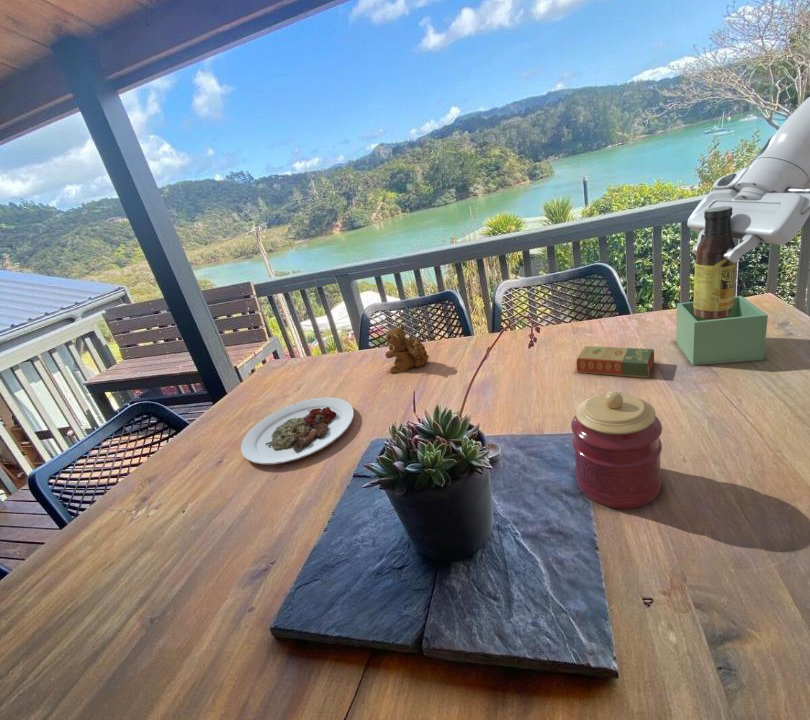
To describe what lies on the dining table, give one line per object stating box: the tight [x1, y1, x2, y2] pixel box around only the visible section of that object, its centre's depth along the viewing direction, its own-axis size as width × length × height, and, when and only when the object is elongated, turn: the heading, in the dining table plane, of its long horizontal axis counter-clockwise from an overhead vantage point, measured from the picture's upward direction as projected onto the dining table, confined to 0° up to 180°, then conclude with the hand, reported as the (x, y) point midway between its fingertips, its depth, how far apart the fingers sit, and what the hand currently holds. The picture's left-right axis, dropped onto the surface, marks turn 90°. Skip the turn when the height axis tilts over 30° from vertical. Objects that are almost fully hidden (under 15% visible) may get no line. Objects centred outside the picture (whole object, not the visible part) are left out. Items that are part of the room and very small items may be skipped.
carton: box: [576, 345, 655, 379], centre depth 107 cm, size 8×16×4 cm, turn 55°
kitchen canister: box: [570, 390, 663, 510], centre depth 70 cm, size 13×13×18 cm
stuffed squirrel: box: [384, 325, 430, 374], centre depth 135 cm, size 10×14×13 cm
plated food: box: [240, 396, 355, 465], centre depth 114 cm, size 30×30×3 cm
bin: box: [675, 295, 769, 366], centre depth 103 cm, size 14×14×11 cm
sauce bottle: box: [693, 206, 737, 320], centre depth 80 cm, size 7×6×20 cm
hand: (711, 257), depth 79 cm, fingers closed on sauce bottle, 6 cm apart
